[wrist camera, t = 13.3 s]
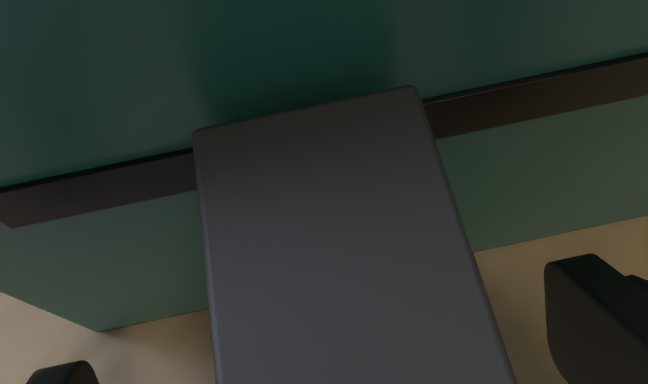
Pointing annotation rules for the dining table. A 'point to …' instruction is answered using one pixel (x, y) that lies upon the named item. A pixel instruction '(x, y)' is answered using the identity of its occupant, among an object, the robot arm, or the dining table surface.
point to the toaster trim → (442, 111)
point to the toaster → (280, 95)
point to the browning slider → (340, 250)
